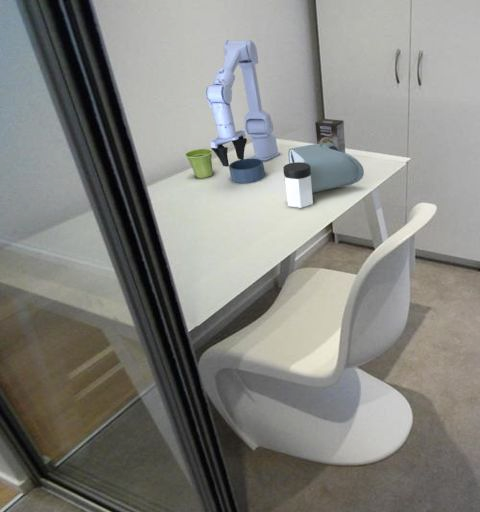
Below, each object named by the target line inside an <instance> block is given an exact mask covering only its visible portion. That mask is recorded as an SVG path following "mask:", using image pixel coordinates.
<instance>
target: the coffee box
mask: <svg viewBox="0 0 480 512" xmlns="http://www.w3.org/2000/svg"><path fill="white" fill-rule="evenodd" d="M344 123H345V121H344V119H343V120H342V119H341V120H340V119H332V118H331V119H330V118H321V119H319V120H317V121H315V122H314V124H315V133H316V144H320V143H327V142H330V143H332V144H334V145H335V146H336V148H337V149H338V151H339V152H343V153H346V139H345V124H344Z"/></svg>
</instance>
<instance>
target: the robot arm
mask: <svg viewBox="0 0 480 512" xmlns="http://www.w3.org/2000/svg"><path fill="white" fill-rule="evenodd" d="M223 53H224V61H223V65H222V67H220V68H218V69H217V72H216V74H215V76H214V79H213V81H212V84H211V85H208V87H206V89H205V98H206V101H207V103H208V104H209V107H210V110H211V111H212V113H213V117H214V121H215V125H216V131H217V135H218V136H217V137H216V138H215V139H213V140H212V141H209V144H210V148H211V149H210V150H212V152H213V153H214V154H215V155H216V156H217V158H218V159H219V161H220V163H221V165H222V167H227V168H229V165H230V164H229V158H228V157H229V156H228V151H229V150H228V149H229V148H228V147H227V146H225V145H226V144H228V143H232V145H233V147H234V149H235V154H236V157H237V159H238V160H243V159H245V149H246V145H247V142H248V139H247V137H246V134H247V136H249V138H251V141H252V142H251V143H252V148H253V153H254V155H253V156H251V157H250V158H255V159H260V160H262V161H263V162H267V161H269V160H271V159H273V158H276V157H277V156H280V154H281V153H280V152H279V149H278V144H277V138H276V136H275V135H274V134H273V133H274V132H273V131H274V124H273V121H272V117H271V114H270V113H268V112H267V111H265V110H263V106H262V99H261V94H260V87H259V82H258V76H257V69H256V65H257V64H259V56H258V51H257V46H256V44H255V42H254V41H253V40H252V39H248V40H225V42H224V43H223ZM238 66H239V67H240V68H241V72H242V78H243V83H244V91H245V95H246V101H247V107H248V112H247V113H246V114H245V115H244V119H243V120H244V130H237V131H236V125H235V121H234V116H233V111H232V106H231V103H232V100H233V89H232V88H233V85H234V83H235V79H236V76H235V74H234V73H235V71H236V69H237V67H238Z"/></svg>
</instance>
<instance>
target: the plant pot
mask: <svg viewBox="0 0 480 512" xmlns="http://www.w3.org/2000/svg"><path fill="white" fill-rule="evenodd" d="M184 156H185V157H186V158H187V160H188V161H189V164H190V166H191V168H192V171H193V174H194V176H195V177H196V178H197V179H204V178H207V177H208V178H210V177H212V175H213V174H214V173H213V172H214V171H213V163H212V161H213V160H212V156H213V150H212V149H210V148H197V149H192V150H189V151H187V152H186V153H185V154H184Z"/></svg>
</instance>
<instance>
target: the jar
mask: <svg viewBox="0 0 480 512" xmlns="http://www.w3.org/2000/svg"><path fill="white" fill-rule="evenodd" d="M282 168H283V175H284V182H285V183H284V184H285V191H286V193H285V194H286V200H287V201H286V202H287V206H288V207H291V208H298V209H303V208H305V207H308V206H312V205H314V200H313V193H312V184H311V175H310V174H311V170H310V165H309V164H307V163H301V162H296V163H290V164H289V163H287V164H284V166H283V167H282Z"/></svg>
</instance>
